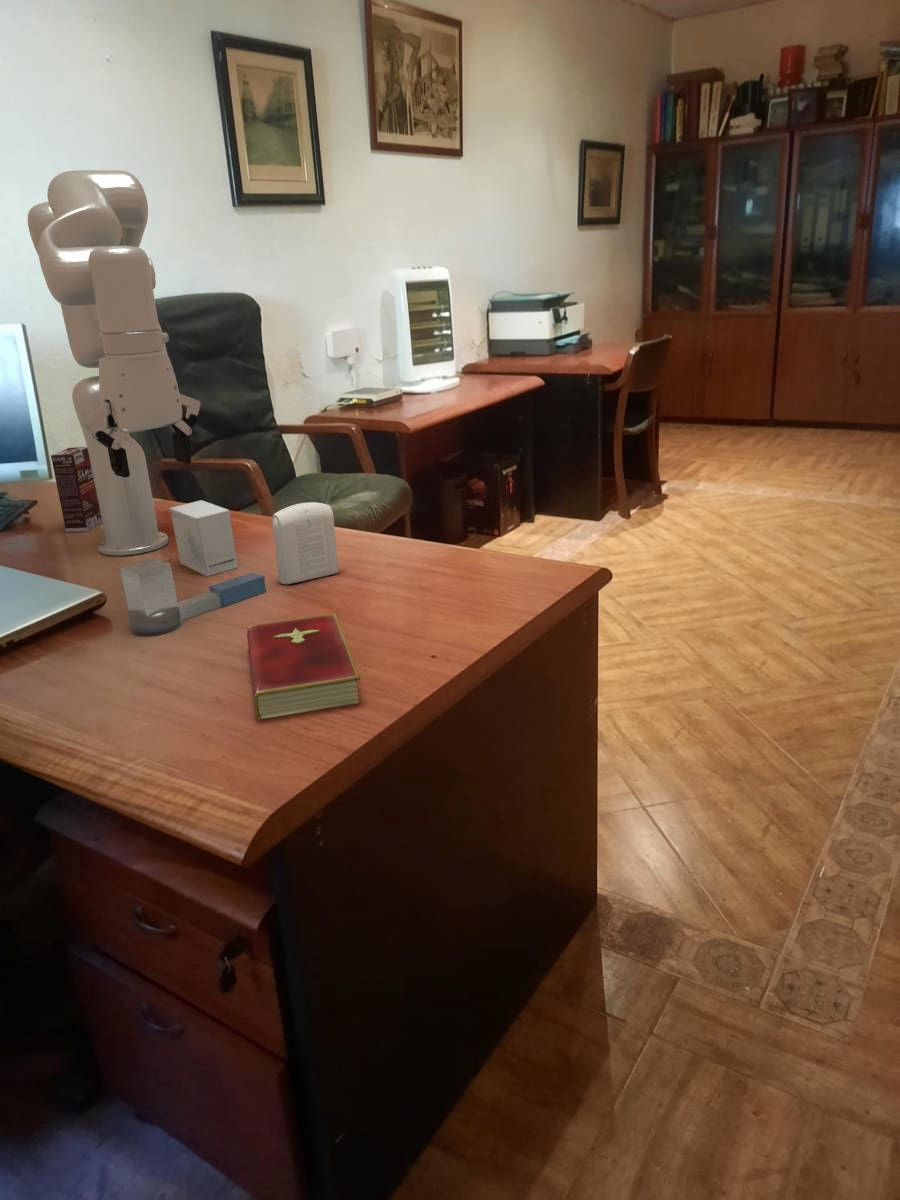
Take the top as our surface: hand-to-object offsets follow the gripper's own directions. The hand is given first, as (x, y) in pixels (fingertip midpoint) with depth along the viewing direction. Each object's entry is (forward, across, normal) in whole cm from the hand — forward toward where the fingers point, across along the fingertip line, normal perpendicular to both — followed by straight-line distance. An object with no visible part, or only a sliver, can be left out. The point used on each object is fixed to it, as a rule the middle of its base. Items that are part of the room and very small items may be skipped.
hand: (153, 468), depth 126 cm
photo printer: (+22, -21, +5) cm, 31 cm away
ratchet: (+22, -2, +4) cm, 22 cm away
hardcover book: (+22, +3, +34) cm, 41 cm away
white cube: (+19, +6, +4) cm, 20 cm away
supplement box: (+24, -15, -61) cm, 67 cm away
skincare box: (+22, -15, -15) cm, 31 cm away
